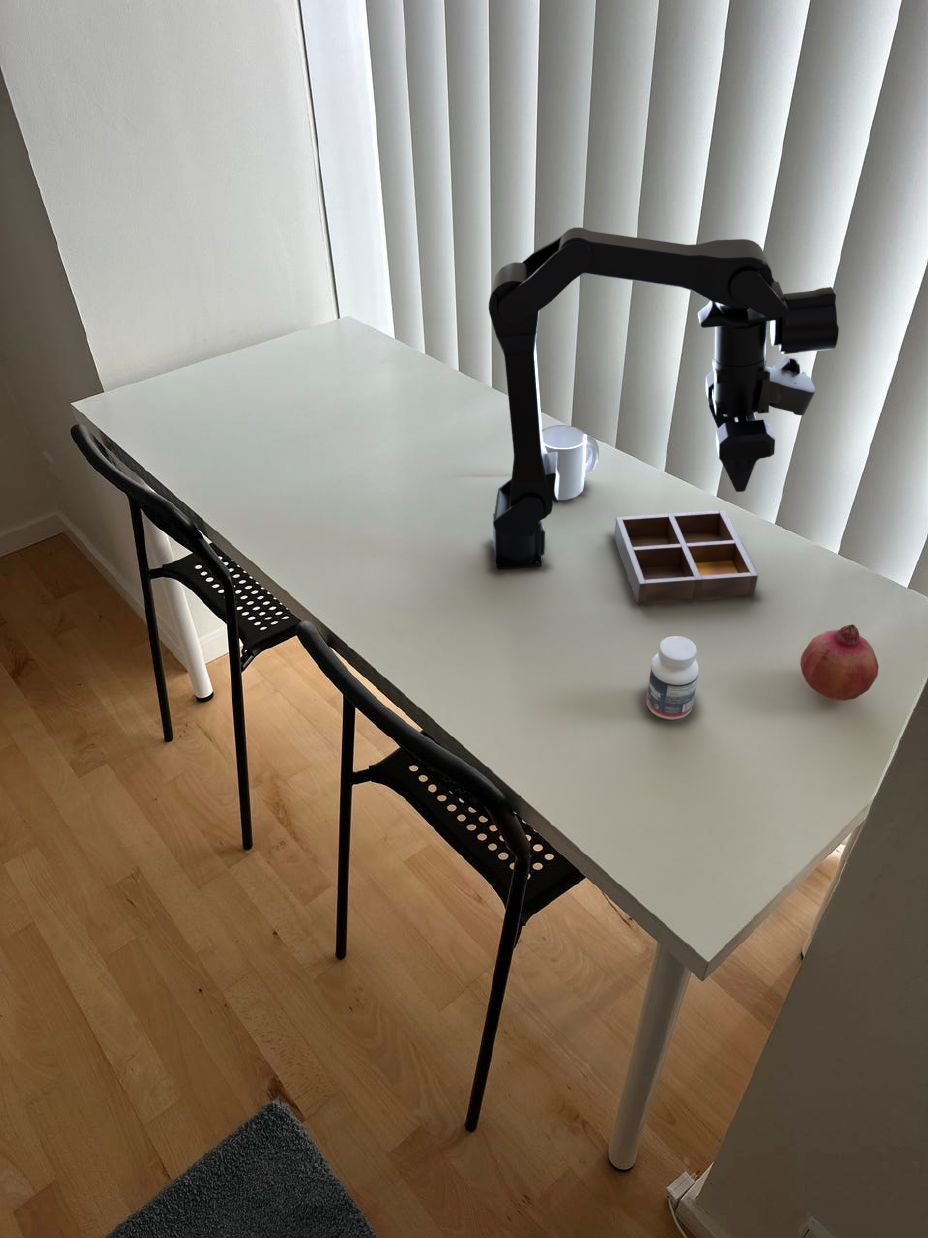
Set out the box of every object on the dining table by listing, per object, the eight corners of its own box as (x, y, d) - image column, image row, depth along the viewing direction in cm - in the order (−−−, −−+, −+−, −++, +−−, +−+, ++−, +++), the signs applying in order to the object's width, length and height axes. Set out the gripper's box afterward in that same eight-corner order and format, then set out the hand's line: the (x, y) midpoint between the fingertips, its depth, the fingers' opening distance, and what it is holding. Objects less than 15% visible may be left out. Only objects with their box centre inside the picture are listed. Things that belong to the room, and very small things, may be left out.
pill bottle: (641, 690, 111) (648, 633, 105) (685, 686, 111) (694, 629, 106) (652, 723, 107) (660, 665, 101) (697, 719, 107) (708, 661, 102)
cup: (528, 483, 147) (529, 431, 141) (585, 468, 150) (588, 417, 144) (550, 505, 142) (552, 453, 136) (608, 489, 145) (612, 437, 139)
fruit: (787, 668, 113) (804, 603, 107) (856, 668, 113) (876, 603, 106) (803, 717, 107) (822, 651, 101) (876, 717, 107) (899, 651, 100)
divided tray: (637, 605, 123) (639, 583, 121) (614, 537, 135) (615, 517, 133) (753, 596, 124) (758, 575, 122) (720, 530, 136) (724, 509, 133)
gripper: (827, 385, 102) (815, 507, 112) (799, 317, 116) (790, 430, 126) (720, 395, 104) (718, 514, 114) (705, 326, 118) (704, 437, 128)
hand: (736, 471), depth 120 cm, fingers open, 9 cm apart
